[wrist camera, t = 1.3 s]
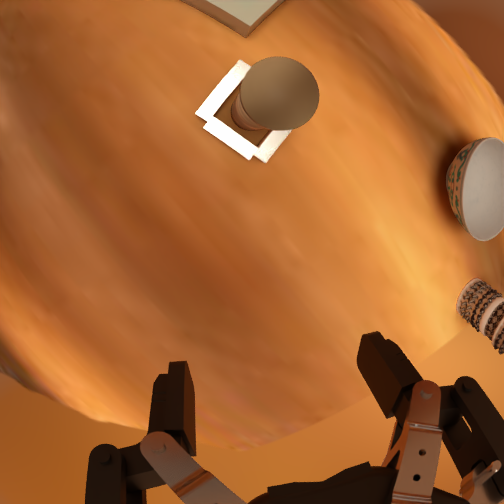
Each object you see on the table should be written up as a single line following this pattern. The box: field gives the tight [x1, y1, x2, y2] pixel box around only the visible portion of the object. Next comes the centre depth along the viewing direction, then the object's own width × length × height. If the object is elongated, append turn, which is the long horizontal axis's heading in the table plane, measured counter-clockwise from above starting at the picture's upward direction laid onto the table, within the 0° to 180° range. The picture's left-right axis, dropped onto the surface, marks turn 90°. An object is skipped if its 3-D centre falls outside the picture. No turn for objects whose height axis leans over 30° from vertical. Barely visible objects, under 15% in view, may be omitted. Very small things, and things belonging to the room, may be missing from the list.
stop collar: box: [196, 60, 291, 163], centre depth 29 cm, size 9×9×2 cm
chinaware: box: [446, 137, 504, 241], centre depth 33 cm, size 15×15×8 cm
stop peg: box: [231, 57, 319, 131], centre depth 23 cm, size 5×5×15 cm
